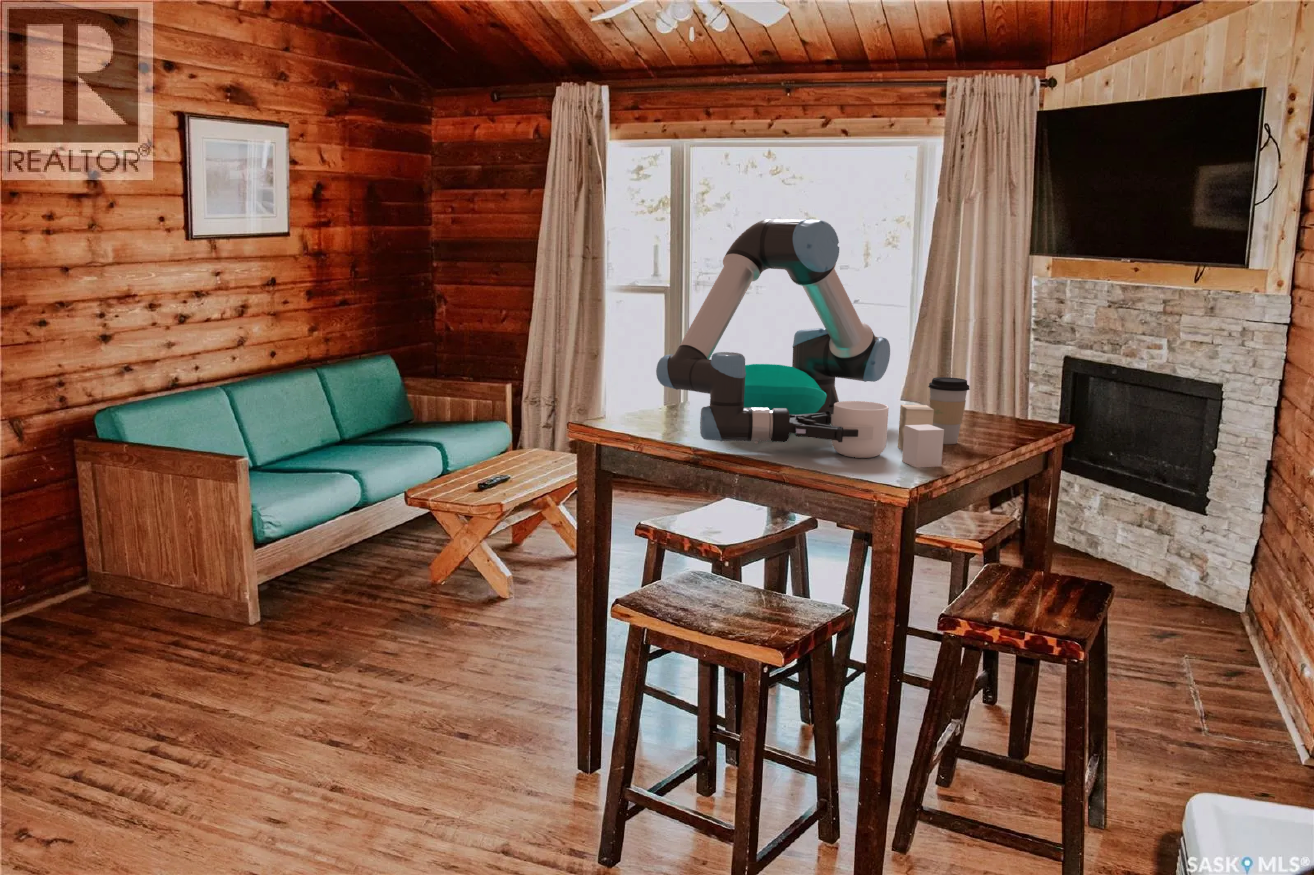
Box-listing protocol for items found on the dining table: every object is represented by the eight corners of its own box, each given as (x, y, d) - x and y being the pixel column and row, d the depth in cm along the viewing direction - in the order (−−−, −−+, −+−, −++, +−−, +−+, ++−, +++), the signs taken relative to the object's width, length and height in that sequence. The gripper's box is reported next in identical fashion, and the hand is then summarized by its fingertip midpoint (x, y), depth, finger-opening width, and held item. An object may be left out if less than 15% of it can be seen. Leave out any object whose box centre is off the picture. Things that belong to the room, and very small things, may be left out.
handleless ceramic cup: (883, 462, 224) (886, 411, 221) (828, 458, 227) (830, 407, 225) (887, 452, 235) (890, 403, 233) (834, 447, 238) (837, 399, 236)
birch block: (897, 447, 240) (900, 404, 238) (923, 447, 240) (926, 405, 238) (904, 452, 234) (907, 409, 232) (930, 453, 234) (933, 409, 232)
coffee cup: (916, 441, 247) (921, 378, 244) (937, 436, 254) (942, 375, 251) (952, 447, 240) (957, 383, 237) (972, 442, 247) (977, 380, 244)
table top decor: (834, 443, 242) (837, 387, 239) (715, 440, 243) (717, 384, 240) (815, 413, 281) (818, 365, 278) (713, 410, 282) (715, 362, 279)
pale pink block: (902, 461, 225) (904, 425, 224) (926, 460, 227) (929, 424, 225) (916, 467, 220) (918, 430, 218) (941, 466, 221) (944, 429, 220)
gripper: (763, 430, 242) (853, 432, 242) (776, 453, 218) (877, 455, 218) (764, 398, 240) (855, 400, 241) (778, 418, 216) (879, 420, 216)
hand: (866, 426), depth 229 cm, fingers open, 13 cm apart
